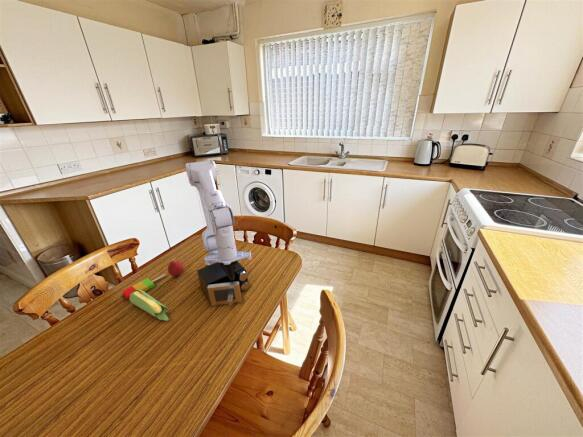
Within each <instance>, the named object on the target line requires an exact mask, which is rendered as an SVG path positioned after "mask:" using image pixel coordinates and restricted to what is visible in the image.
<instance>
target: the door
mask: <svg viewBox="0 0 583 437" xmlns="http://www.w3.org/2000/svg"><path fill="white" fill-rule="evenodd" d="M207 289H208V293H209V297H210V300H209V302H210V306H213V307H214V306H221V305H228V306H229V307H232V306H233V304H236V303H242V302H243V301H242V293H241V291H242V290H241V291H240V285H239V281H238V282H229V283H221V284H212V285H208V287H207Z"/></svg>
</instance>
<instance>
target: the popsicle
mask: <svg viewBox="0 0 583 437" xmlns="http://www.w3.org/2000/svg"><path fill="white" fill-rule="evenodd" d="M166 276H167V274H166V273H163V274H162V275H160V276H158V277H156V278H154V279H153V280H150V279H149V278H147V277H145V279H142V280H141V281H139V282H137V283H135V284H133V285H132V286H129V287H127V288H126V289H124V290H123V291H122V295H123V297H124V298H125V299H126V300H127V301H130V300H129V298H130V295H131V293H132V291H133V290H141V291H144V292H145V293H147V292H148V291H150V290H152V289H153V288H155V287H156V285H155V282H157V281H159V280H160V279H162V278H164V277H166Z"/></svg>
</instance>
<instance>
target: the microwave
mask: <svg viewBox="0 0 583 437" xmlns="http://www.w3.org/2000/svg"><path fill="white" fill-rule="evenodd" d="M196 272H197V277H198V280H199V285H200V288H201V289H202V292H203V293H204V294H205V296H206V297H207V299H208V300H209V301H210V297H209V293H208V289H207V287H208V285H212V284H221V283H229V282H238V281H239V285H240V291H243V292H244V291H247V290H248V289H249V287H250V283H249V279H248V273H247V269H246V268H245V267H244V266H243V265H242V264H241V263H240V262H239V260H237V266H236V269H235V272H234V280H229V278H228V276H227V274H226V273H225V272H224V271H223V270H222V269H221V268H220V263H219V262H216V263H214V264H211V265H209V266H208V265H206V266H204V267H201V268H200V269H197V270H196Z"/></svg>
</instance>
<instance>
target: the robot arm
mask: <svg viewBox="0 0 583 437" xmlns="http://www.w3.org/2000/svg"><path fill="white" fill-rule="evenodd" d="M217 169H218V168H217V165H216V163H215V161H214V160H213V159H210V160H204V161H195V162H186V164H185V172H186V175H187V176H186V177H187V179H188V183H189V184H190V186H191V187H194V188H196V189H197V192H198V195H199V198H200V203H201V207H202V211H203V215H204V220H205V224H206V228H205V230H203V231H202V233H201V239H202V245H203V249H204V251H205V252H206V253H207V255H206V256H205V257H204V264H205V265H206V266H209V265H211V264H214V263H216V262H219V263H220V268H221V269H222V270H223V271H224V272H225V273H226V274H227V276H228V278H229V280H234V272H235V269H236V266H237V261H243V260H247V261H252V251H240V250H237V245H236V239H235V233H234V226H233V225H235V217H234V216H235V215H234V213H233V210H232V208H231V206H230V205H229V204H228V203H226V202H227V201H226V200H225V198H224V196H223V193H222V192H221V191H220V190H218V189H217V187H216V184H215V182H216V180H217V175H218V170H217Z"/></svg>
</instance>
